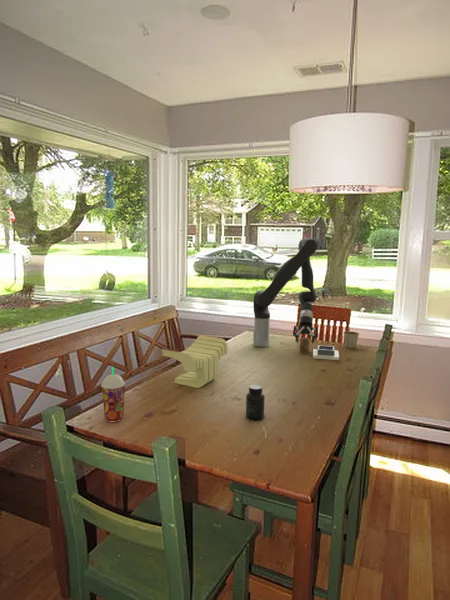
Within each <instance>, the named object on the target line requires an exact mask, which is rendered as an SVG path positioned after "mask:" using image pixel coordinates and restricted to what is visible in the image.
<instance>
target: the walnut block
mask: <svg viewBox="0 0 450 600" xmlns="http://www.w3.org/2000/svg"><path fill="white" fill-rule="evenodd" d="M309 351H310V337H300V338H299V353H302V354H303V353H304V354H309V353H310V352H309Z"/></svg>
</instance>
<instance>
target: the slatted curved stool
mask: <svg viewBox="0 0 450 600" xmlns="http://www.w3.org/2000/svg"><path fill="white" fill-rule="evenodd" d="M228 349H229V348H228V343H227V341H226V340H225V339H224V338H222V337H221V338H220V337H215V336H214V337H213V336H208V335H207V336H206V335H203V334H202V335H201V334H199V335H198V336H197V337H196V339H195V340H194V341H193V342H192V344H191V345H190V346H189V347H187V348H186V349H185V350H183V351H175V350H167V349H163V348H162V351H161V352H162V356H163V357H167V358H170V359H174V360H176V361H178V362H179V363H181V364H182V366H183V369H184V371H186V372H185V373H183V374H181V375H179V376H176V377H175V379H174V382H173V383H174V384H179V385H183V386H188V387H192V388H195V389H196V388H197V389H199V388H201V387H203V386H205V385H206V384H208V383H210V382H211V381H214V380H215V379H217V376H218V370H219V362H220V360H221V359H222V356H225V355H228V351H229V350H228Z"/></svg>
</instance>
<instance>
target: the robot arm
mask: <svg viewBox="0 0 450 600" xmlns="http://www.w3.org/2000/svg"><path fill="white" fill-rule="evenodd" d="M297 245H298V252H297V253H296V254H295V255H293V256H292V257H291V258H290V259H287V260H286V261H285V262H284V263H283V264H282V265H281V266H280V267H279V268H278V270H277V271H276V272H275V274H274V277H273V279H272V281H271V283H270V284H269V286H268V287H266V289H265V290H258V291H256V292H255V293H254V296H253V313H254V314H253V315H254V327H253V328H254V329H253V340H252V341H253V344H252V346H254V347H260V348H266V347H269V346H270V329H271V328H270V327H271V326H270V325H271V324H270V323H271V313H270V311H269V306H271V305H272V303H273V302H274V300H275V299H276V297H277V296H278V294H279V293H280V292H281V291H282V290H283V288H284V287H285V286H286V285H287V284H288V282H289V281H290V280H291V279H292V278H293V277H294V276H295V275H296V273H297V272H298V271H299V269H300V268H301V287H302V288H304V289H308V290H307V291H306V290H302V291H300V292H299V294H298V299H299V303H300V314H299V323H298V324H299V325H298V326H297V325H294V326H293V331H292V336H293V337H295V343H299V337H300V336H301V335H309V336H310V337H311V344H314V343H315V339H316V338H319V337H318V336H319V332H318V328H319V327H318V326H315V327H313V318H314V316H313V315H314V313H313V311H314V310H313V309H314V307H313V304H314V303H315V302H316V300H317V294H316V290H315V287H314V286H315V285H314V271H313V267H312V264H311V256H313V255H314V254H315V253H316V252H317V250H318V242H317V240H316V239H313V238H307V237H306V238H305V237H304V238H302V239H300V240H299V242H298V244H297ZM312 303H313V304H312ZM314 332H315V333H314Z"/></svg>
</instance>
